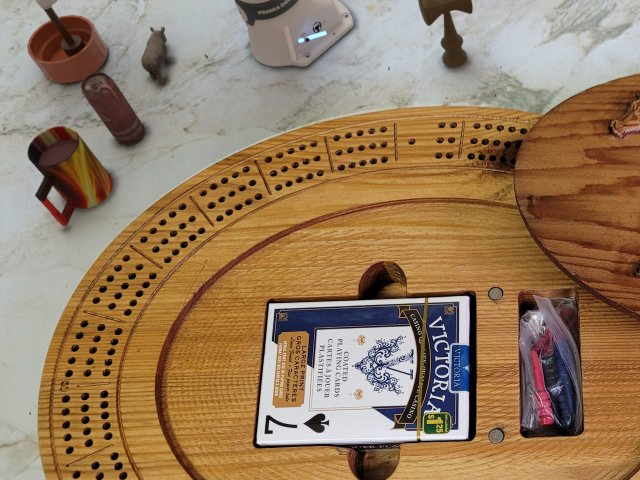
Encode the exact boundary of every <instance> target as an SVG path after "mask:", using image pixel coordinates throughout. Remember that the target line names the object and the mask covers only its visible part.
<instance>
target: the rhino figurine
mask: <svg viewBox="0 0 640 480" xmlns="http://www.w3.org/2000/svg"><path fill="white" fill-rule="evenodd" d="M149 30H150V31H151V32H152V33H151V34H150V36H149V38H148V39H147V42H146V47H145V49H144V50H143V54H142V56H141V60H140V62H141V66H142V68H143V69H144V70H145V71H146V72H147V73H148V74H149V76H150V79H151V80H152V81H156V80H157V81H158V84H159V85H164V84H165V83H167V82H166V81H167V80H166V79H165V78H164V77H162V65H163V64H171V63H172V59H171V58H169V57H168V47H167V45H166V44H167V41H168V39H167V36H166V33H165V31H166V28H165V26H161V27H160V30H159V29H157V30H156V29H154V28H153V27H152V26H150V27H149Z"/></svg>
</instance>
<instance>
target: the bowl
mask: <svg viewBox="0 0 640 480" xmlns="http://www.w3.org/2000/svg"><path fill="white" fill-rule="evenodd" d="M58 17H59V19H60V20H61V22H62V23H63V25H64V26H65V27H66V29H67V30H68V32H69V33H70V35H78V36H79V37H80V38H81V39H82V41H83V42H84V44H85V45H86V47H84V48H83V49H82V50H81V51H80V52H79V53H77V54H75V55H74V56H72V57H70V58H69V57H68V56H67V55H66V53H65V52H64V50H63V49H62V47H61V42H62V40H63V39H64V38H63V37H62V35H61V34H60V33H59V31H58V30H57V28H56V27H55V25H54V24H53V22H52V21H51V20H50V19H49V20H48V21H46V22H44V23H42V24H41V25H40V26H39V27H38V28H36V29H35V30H34V31H33V33H32V34H31V35H30V37H29V39H28V42H27V46H26V48H27V54H28V55H29V57H30V58H31V59H32V61H33V62H34V63H35V65H36V66H37V67H38V69H39V70H40V71H41V73H42V74H43V75H44V76H45V77H46V78H47V79H48V80H49V81H52V82H54V83H59V84H69V83H75V82H79V81H83V80H84V79H85V78H86V77H87V76H89V75H91V74H93V73H97V71H98V70H99V69H100V68H101V67H102V66H103V64H104V63H105V61H106V59H107V55H108V52H109V51H108V47H107V43H106V42H105V40H104V38H103V37H102V36H101V34H100V33H99V31H98V29H97V28H96V27H95V24H94V23H93V22H92V21H91V20H90V19H88V18H87V17H86V16H85V17H84V16H82V15H77V14H67V15H61V16H58Z"/></svg>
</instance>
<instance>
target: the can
mask: <svg viewBox="0 0 640 480" xmlns="http://www.w3.org/2000/svg"><path fill="white" fill-rule="evenodd" d="M80 90H81V94H82V95H83V97H84V98H85V99H86V101H87V102H88V104H89V105H90V106H91V107H92V109H93V110H94V112H95V114H97V116H98V118H99V119H100V120H101V122H102V123H103V125H104V126H105V127H106V129H107V130H108V131H109V133H110V135H111V136H112V137H113V138H114V139H115V141H116V142H117V143H118V144H119V145H122V146H126V147H132V146H135V145H137V144H139V143H140V142H142V141H143V139H144V138H145V136H146V127H145V125H144V124H143V122H142V120H141V118H140V117H139V116H138V115H137V113H136V112H135V110H134V109H133V107H132V106H131V103H129V101H128V100H127V98H126V96H125V95H124V93H123V92H122V90H121V89H120V88H119V86H118V85H117V83H116V82H115V80H114V79H113V78H112V77H111V76H110V75H108V74H107V73H104V72H101V71H100V72H95V73H93V74H91V75H89V76H87V77H86V78H85V79H83V80H82V82H81V84H80Z"/></svg>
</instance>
